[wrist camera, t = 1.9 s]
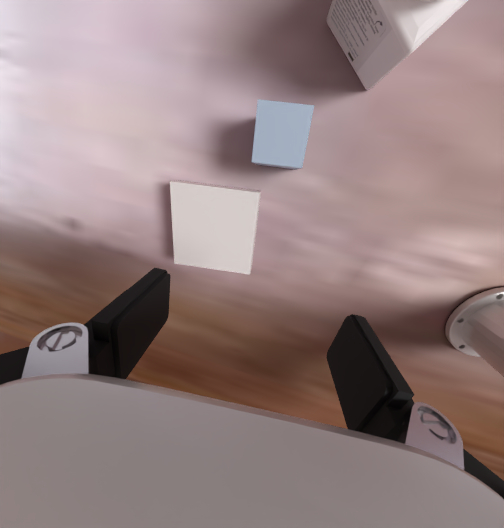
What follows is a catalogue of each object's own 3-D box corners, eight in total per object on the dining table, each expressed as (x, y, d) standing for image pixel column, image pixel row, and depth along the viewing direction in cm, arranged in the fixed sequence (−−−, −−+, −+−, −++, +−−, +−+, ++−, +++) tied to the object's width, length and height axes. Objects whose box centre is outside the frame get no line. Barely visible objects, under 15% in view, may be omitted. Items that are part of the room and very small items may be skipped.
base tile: (261, 190, 26) (259, 192, 24) (252, 265, 31) (249, 274, 28) (180, 180, 27) (169, 181, 24) (183, 255, 32) (174, 263, 29)
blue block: (304, 121, 23) (314, 105, 18) (296, 169, 25) (302, 168, 20) (261, 116, 23) (257, 99, 18) (256, 164, 25) (251, 162, 20)
